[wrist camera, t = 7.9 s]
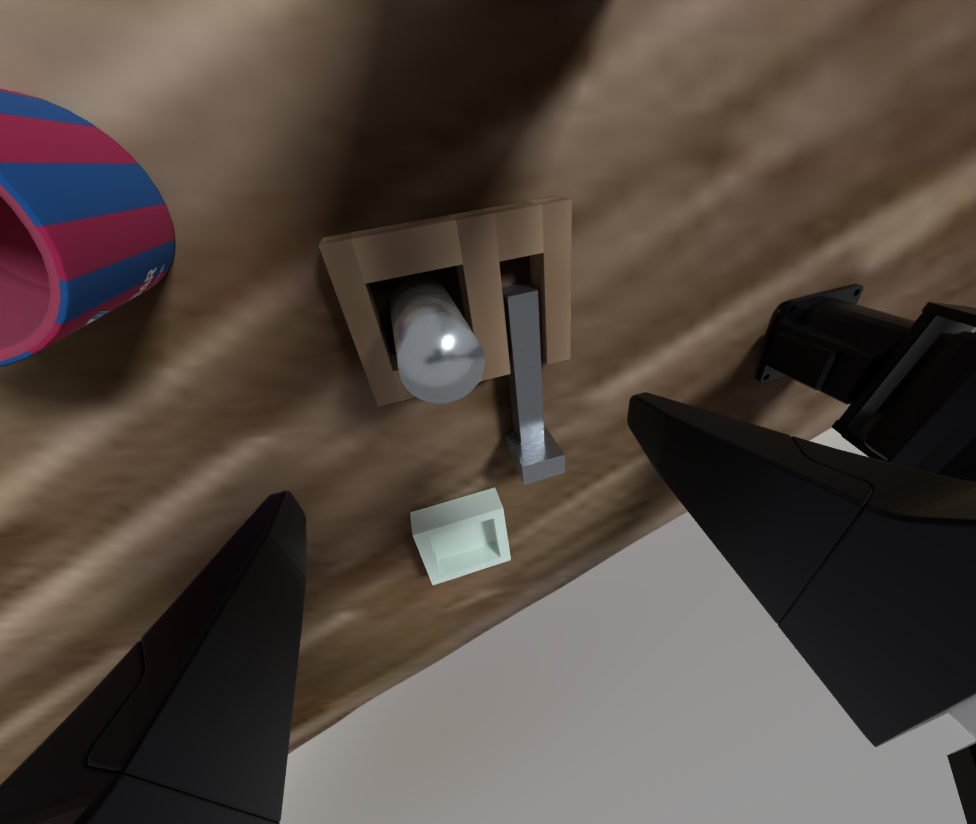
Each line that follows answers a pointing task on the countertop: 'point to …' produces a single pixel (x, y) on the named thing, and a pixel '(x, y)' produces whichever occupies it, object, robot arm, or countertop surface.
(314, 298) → the countertop surface
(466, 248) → the socket block
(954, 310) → the robot arm
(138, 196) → the mug
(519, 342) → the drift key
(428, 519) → the tray
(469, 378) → the polished steel rod
